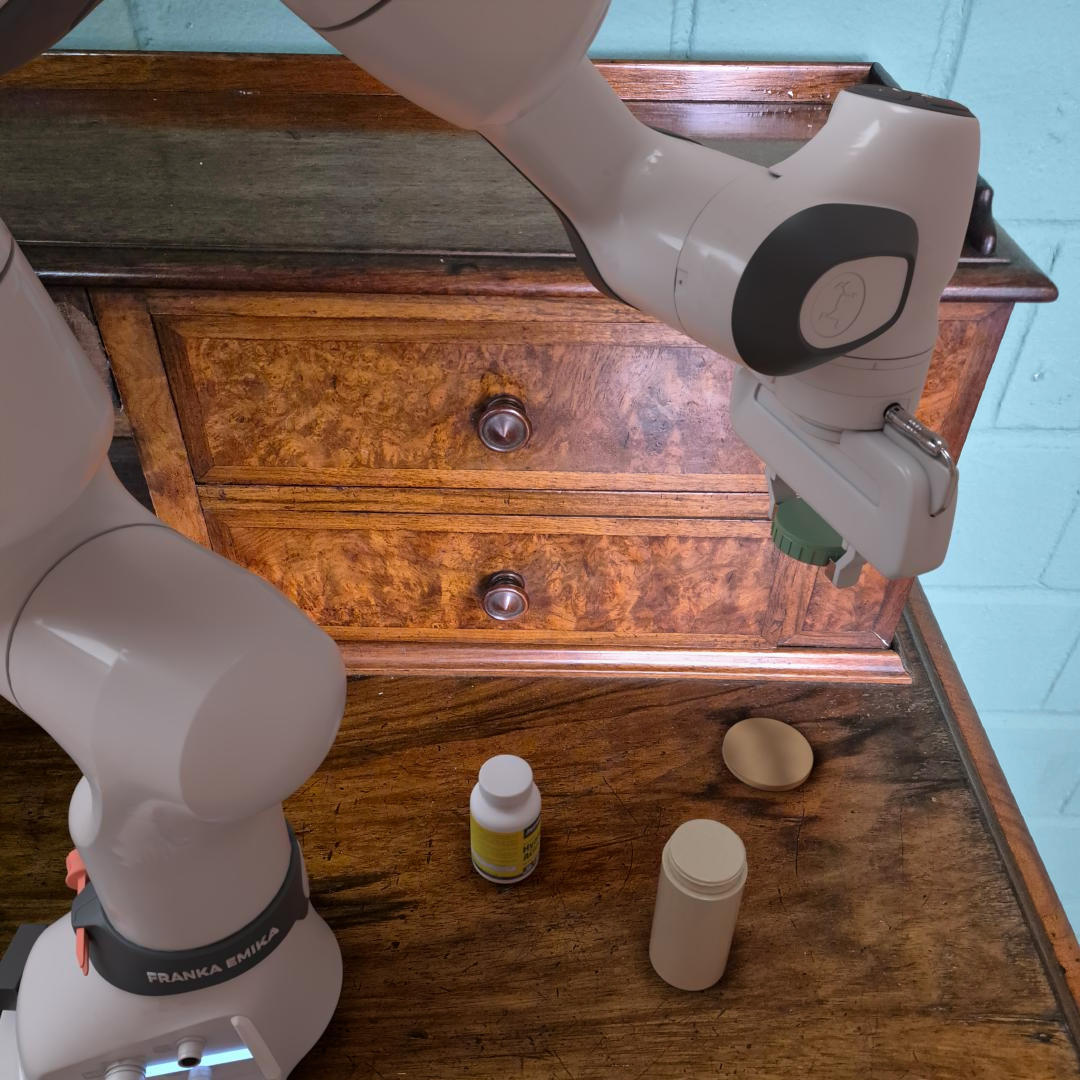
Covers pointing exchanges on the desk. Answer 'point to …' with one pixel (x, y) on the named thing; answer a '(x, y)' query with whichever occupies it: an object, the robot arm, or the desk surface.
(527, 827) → the supplement bottle
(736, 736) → the coaster
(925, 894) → the desk surface
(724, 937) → the jar
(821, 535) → the jar lid
